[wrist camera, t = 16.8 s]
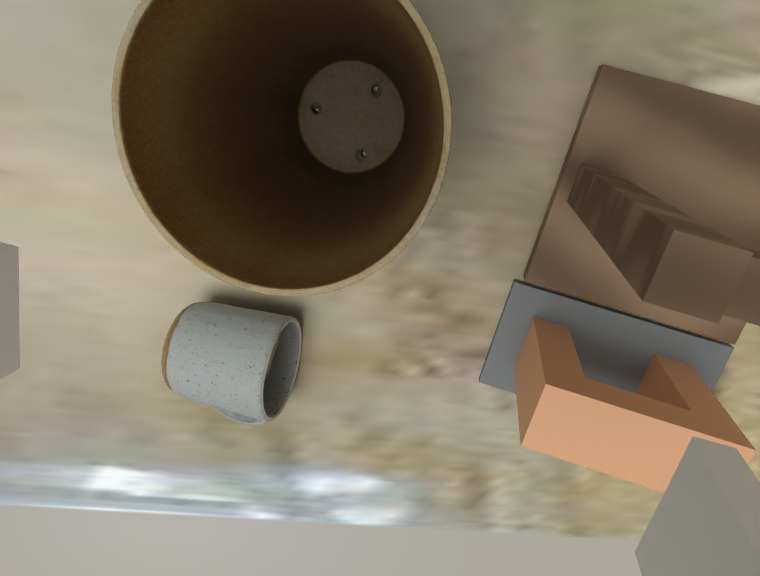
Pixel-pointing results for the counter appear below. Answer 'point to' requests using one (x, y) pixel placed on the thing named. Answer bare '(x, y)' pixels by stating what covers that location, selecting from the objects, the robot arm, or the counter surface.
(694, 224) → the hook stand
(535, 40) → the counter surface
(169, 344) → the ceramic mug
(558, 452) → the orange notched block
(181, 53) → the plant pot
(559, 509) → the counter surface
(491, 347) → the mat
